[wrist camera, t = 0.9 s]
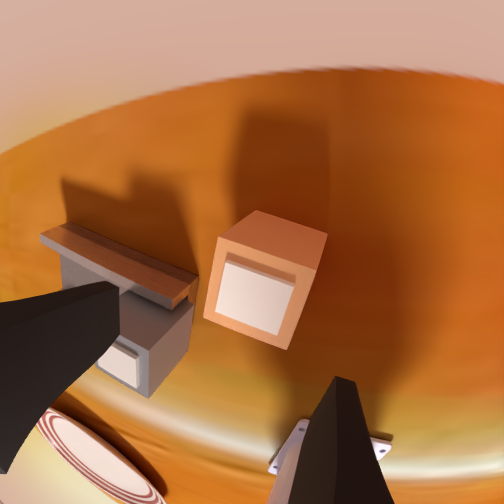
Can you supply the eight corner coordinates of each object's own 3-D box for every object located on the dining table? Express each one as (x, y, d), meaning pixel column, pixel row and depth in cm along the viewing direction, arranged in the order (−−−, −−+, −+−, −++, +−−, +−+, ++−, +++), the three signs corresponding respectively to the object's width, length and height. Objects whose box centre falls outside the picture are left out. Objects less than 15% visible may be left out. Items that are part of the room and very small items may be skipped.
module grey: (187, 351, 20) (145, 401, 15) (139, 327, 21) (92, 369, 16) (194, 304, 18) (145, 354, 14) (141, 280, 19) (85, 319, 15)
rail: (187, 350, 22) (165, 377, 19) (72, 289, 24) (47, 305, 21) (199, 276, 19) (172, 299, 16) (70, 221, 22) (39, 233, 19)
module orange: (305, 298, 18) (285, 354, 13) (240, 274, 18) (199, 320, 14) (328, 233, 16) (315, 273, 11) (256, 209, 17) (215, 238, 12)
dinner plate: (160, 450, 30) (146, 470, 27) (181, 517, 40) (174, 529, 37) (23, 367, 37) (10, 377, 34) (71, 455, 47) (63, 464, 44)
